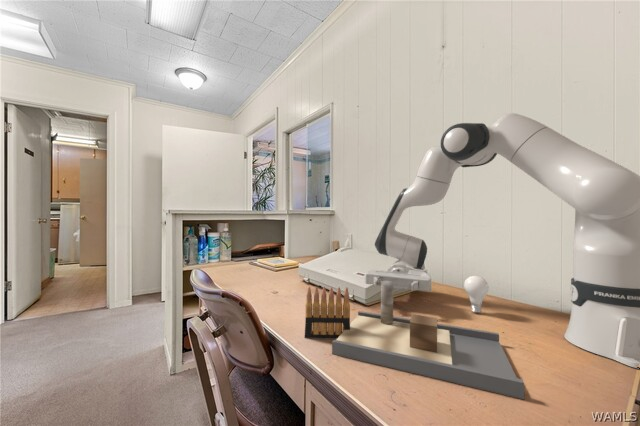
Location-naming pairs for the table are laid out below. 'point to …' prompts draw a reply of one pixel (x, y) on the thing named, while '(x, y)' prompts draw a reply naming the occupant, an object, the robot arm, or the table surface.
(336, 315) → the ammunition clip
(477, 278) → the lightbulb
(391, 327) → the sliding platform with post
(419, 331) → the walnut block
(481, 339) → the rail base
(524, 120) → the robot arm
